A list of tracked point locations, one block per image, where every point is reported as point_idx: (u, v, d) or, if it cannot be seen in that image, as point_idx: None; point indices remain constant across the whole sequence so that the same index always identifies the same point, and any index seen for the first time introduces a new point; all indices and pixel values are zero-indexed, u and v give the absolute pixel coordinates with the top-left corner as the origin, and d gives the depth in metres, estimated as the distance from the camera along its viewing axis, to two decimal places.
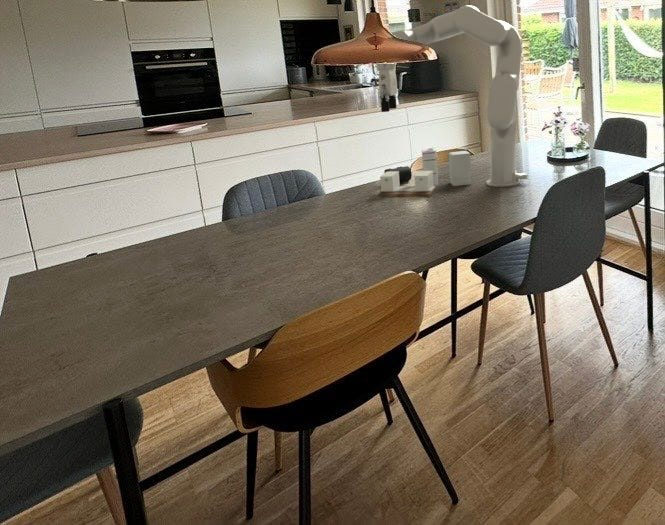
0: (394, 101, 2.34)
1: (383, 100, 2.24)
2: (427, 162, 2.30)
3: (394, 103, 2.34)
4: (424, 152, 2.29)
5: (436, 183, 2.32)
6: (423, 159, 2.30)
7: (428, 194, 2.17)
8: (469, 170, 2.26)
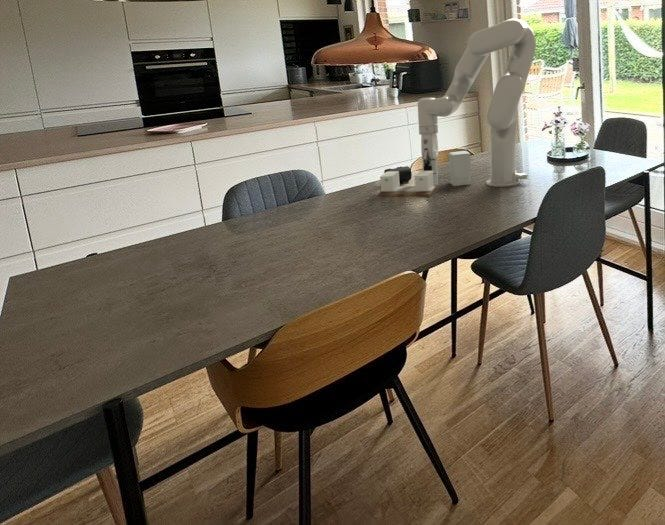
0: None
1: (426, 165, 2.28)
2: None
3: None
4: None
5: (436, 183, 2.32)
6: None
7: (428, 194, 2.17)
8: (469, 170, 2.26)
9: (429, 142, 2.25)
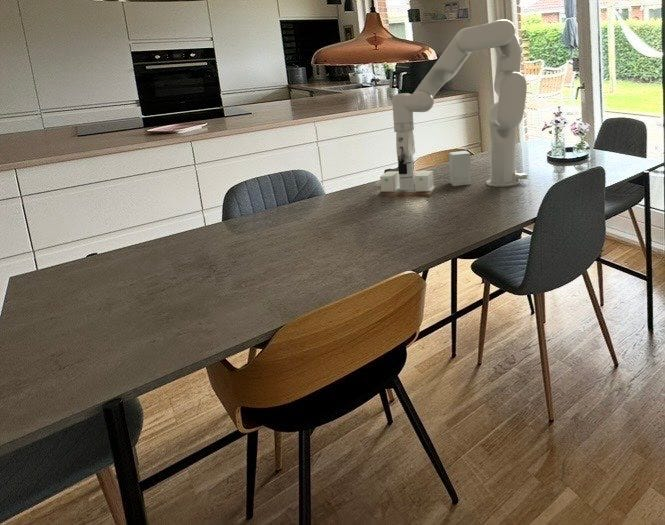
0: None
1: (401, 163, 2.16)
2: None
3: None
4: None
5: (413, 187, 2.22)
6: None
7: (428, 194, 2.17)
8: (469, 170, 2.26)
9: (404, 140, 2.14)
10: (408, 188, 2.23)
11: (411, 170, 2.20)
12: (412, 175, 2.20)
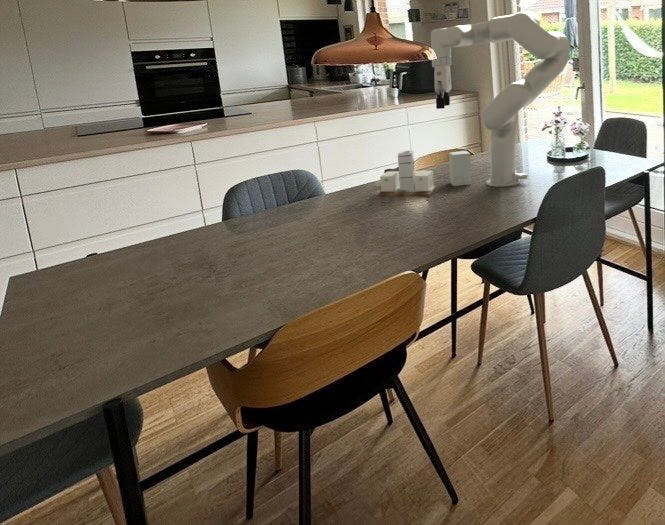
0: (448, 98, 2.31)
1: (439, 97, 2.21)
2: (403, 165, 2.20)
3: (448, 100, 2.31)
4: (400, 155, 2.19)
5: (413, 187, 2.22)
6: (399, 162, 2.20)
7: (428, 194, 2.17)
8: (469, 170, 2.26)
9: (443, 74, 2.19)
10: (408, 188, 2.23)
11: (411, 170, 2.20)
12: (412, 175, 2.21)
